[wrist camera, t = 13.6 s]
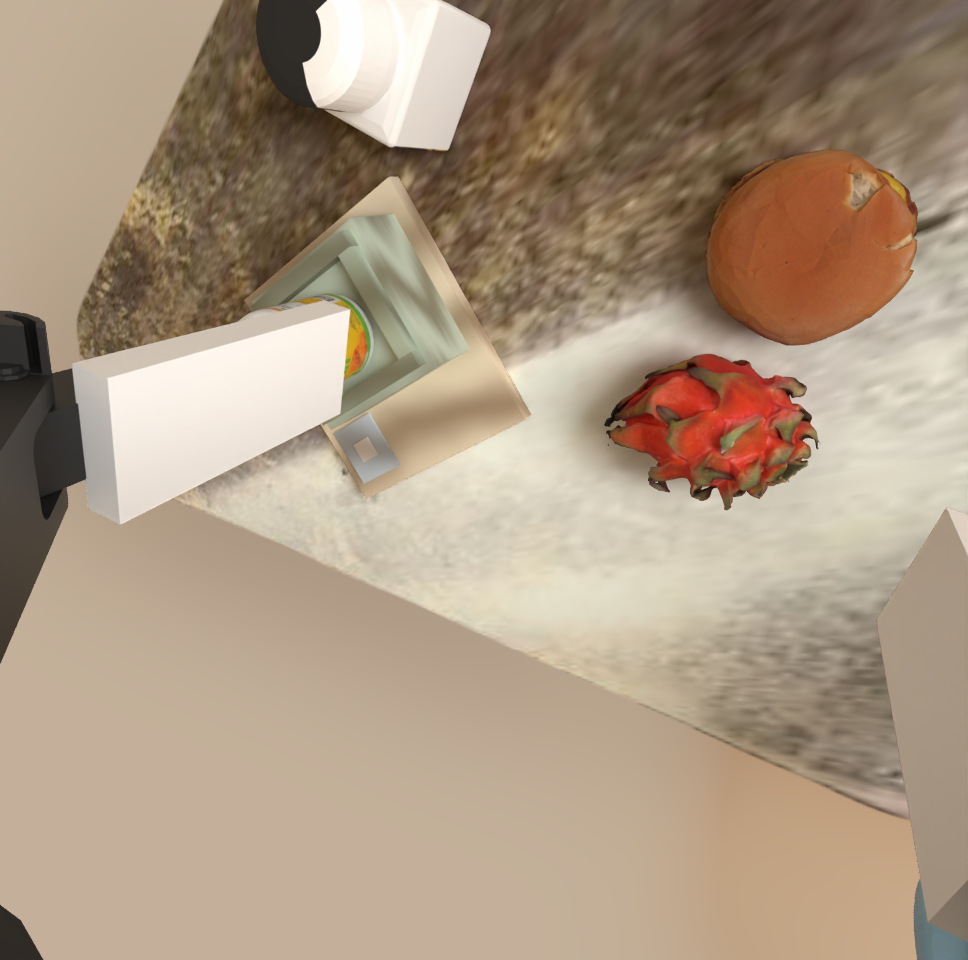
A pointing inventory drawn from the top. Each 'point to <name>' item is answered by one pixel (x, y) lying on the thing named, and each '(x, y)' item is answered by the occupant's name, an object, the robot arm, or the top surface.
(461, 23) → the medicine bottle
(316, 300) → the supplement bottle
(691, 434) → the dragon fruit
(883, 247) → the burger
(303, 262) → the beige and green stand
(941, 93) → the top surface
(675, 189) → the top surface
